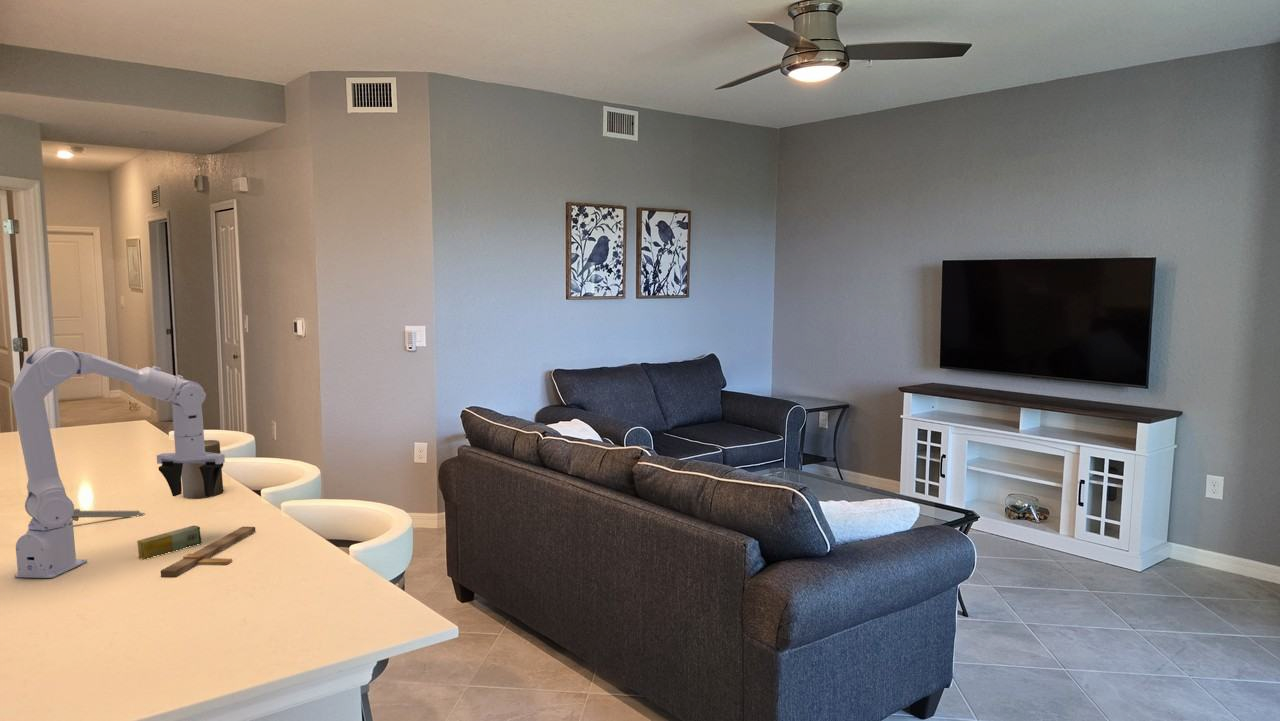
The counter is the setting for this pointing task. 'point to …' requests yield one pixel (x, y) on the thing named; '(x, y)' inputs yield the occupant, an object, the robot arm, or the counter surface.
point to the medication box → (169, 542)
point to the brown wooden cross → (207, 553)
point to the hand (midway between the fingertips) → (193, 495)
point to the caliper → (103, 514)
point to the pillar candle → (200, 475)
